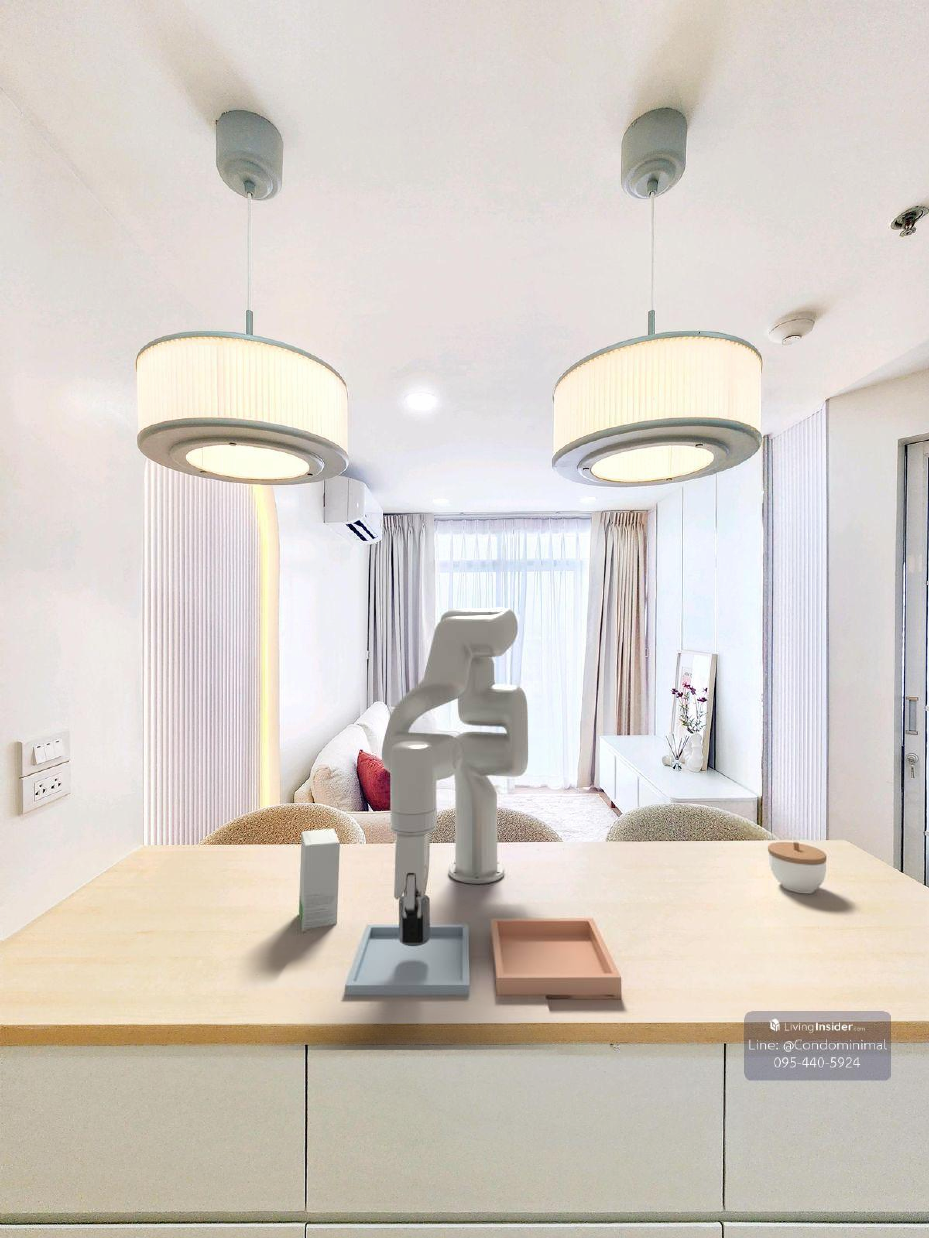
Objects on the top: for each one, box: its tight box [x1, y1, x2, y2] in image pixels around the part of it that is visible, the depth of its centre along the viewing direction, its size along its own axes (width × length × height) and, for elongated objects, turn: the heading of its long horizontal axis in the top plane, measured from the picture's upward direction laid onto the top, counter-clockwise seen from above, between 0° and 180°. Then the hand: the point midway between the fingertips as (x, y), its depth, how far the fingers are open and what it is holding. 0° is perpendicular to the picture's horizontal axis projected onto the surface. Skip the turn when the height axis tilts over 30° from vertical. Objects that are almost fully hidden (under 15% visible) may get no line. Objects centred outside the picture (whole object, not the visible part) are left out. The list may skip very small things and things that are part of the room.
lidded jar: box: [767, 841, 827, 895], centre depth 119 cm, size 11×11×9 cm
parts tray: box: [344, 923, 470, 997], centre depth 90 cm, size 18×18×2 cm
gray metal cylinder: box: [398, 893, 431, 946], centre depth 91 cm, size 5×5×6 cm
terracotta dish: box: [490, 917, 623, 1000], centre depth 90 cm, size 18×18×3 cm
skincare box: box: [298, 827, 341, 933], centre depth 106 cm, size 8×7×16 cm
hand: (414, 931), depth 91 cm, fingers closed on gray metal cylinder, 5 cm apart
